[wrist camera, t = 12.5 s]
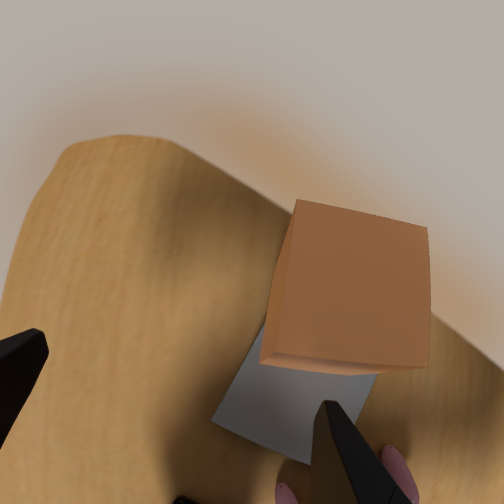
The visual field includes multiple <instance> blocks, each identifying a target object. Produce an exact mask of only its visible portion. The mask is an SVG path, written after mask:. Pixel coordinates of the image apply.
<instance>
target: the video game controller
mask: <svg viewBox="0 0 504 504" xmlns="http://www.w3.org/2000/svg"><path fill="white" fill-rule="evenodd" d="M381 460H382V464H383V465H384V466H385V468H386V469H387V470H388V472H389V473H390V475H391V476H392V477H393V479H394V480H395V481H396V483H397V484H396V485H399V487H400V488H401V489H402V491H403V492H404V493H405V495H406V496H407V497H408V498H409V500H410V501H411V502H412V503H413V504H419V493H418V489H417V486H416V484H415V482H414V479H413V477H412V475H411V472H410V470H409V468H408V466H407V464H406V463H405V461H404V459H403V457H402V455H401V454H400V452H399V451H398V450H397V449H396V448H395V447H393V446H391V445H386V446H384V448H383V450H382V455H381ZM275 501H276V504H299V503H298V501H297V499H296V497H295V495H294V493H293V492H292V491H291V489H290V488H289V487H288V486H287V485H286V484H285V483H283V482H279V483H278V484H277V485H276V488H275Z"/></svg>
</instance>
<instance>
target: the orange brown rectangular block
mask: <svg viewBox="0 0 504 504" xmlns="http://www.w3.org/2000/svg"><path fill="white" fill-rule="evenodd" d="M430 295H431V293H430V262H429V245H428V234H427V228H426V227H422V226H418V225H414V224H410V223H406V222H402V221H397V220H393V219H389V218H385V217H380V216H376V215H371V214H367V213H362V212H358V211H353V210H349V209H344V208H339V207H334V206H329V205H324V204H319V203H314V202H309V201H304V200H298V199H297V201H296V204H295V208H294V211H293V214H292V217H291V220H290V224H289V227H288V230H287V233H286V236H285V239H284V242H283V246H282V249H281V252H280V255H279V258H278V261H277V264H276V267H275V270H274V273H273V278H272V285H271V291H270V297H269V303H268V309H267V315H266V321H265V327H264V333H263V339H262V344H261V350H260V356H259V362H258V364H262V365H269V366H275V367H282V368H289V369H296V370H304V371H312V372H320V373H329V374H339V375H362V374H374V373H384V372H394V371H402V370H410V369H418V368H425V367H428V359H429V343H430V314H431V301H430V300H431V296H430Z"/></svg>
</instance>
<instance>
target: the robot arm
mask: <svg viewBox="0 0 504 504" xmlns="http://www.w3.org/2000/svg"><path fill="white" fill-rule="evenodd" d="M48 355H49V349H48V345H47V342H46V338H45V334H44V333H43V332H42V331H40V330H38V329H35V328H32V329H29V330H27V331H24V332H21V333H19V334H16V335H13V336H11V337H8V338H6V339H3V340H0V449H1V447H2V445H3V443H4V441H5V439H6V437H7V435H8V433H9V431H10V429H11V427H12V426H13V424H14V422H15V420H16V418H17V416H18V414H19V413H20V411H21V409H22V407H23V406H24V404H25V402H26V400H27V398H28V397H29V395H30V393H31V391H32V389H33V387H34V385H35V383H36V381H37V379H38V377H39V374H40V372H41V370H42V368H43V366H44V364H45V362H46V360H47V358H48ZM396 484H397V483H396V481H395V480H394V479H393V477H392V476H391V475H390V473H389V472H388V470H387V469H386V468H385V466H384V465H383V464H382V462H381V461H380V459H379V458H378V457H377V455H376V454H375V453H374V451H373V450H372V448H371V447H370V446H369V444H368V443H367V442H366V440H365V439H364V437H363V436H362V435H361V433H360V432H359V431H358V429H357V428H356V426H355V425H354V424H353V422H352V421H351V419H350V418H349V417H348V415H347V414H346V412H345V411H344V410H343V408H342V407H341V405H340V404H339V403H338V402H337V401H335V400H323V401H322V403H321V405H320V407H319V409H318V411H317V413H316V415H315V418H314V424H313V438H312V452H311V492H312V504H413V503H412V502H411V501H410V500H409V498H408V497H407V496H406V495H405V493H404V492H403V491H402V489H401V488H400V487H399V485H396ZM179 500H183V501H184V502H185V503H184V504H199V503H197V502H195V501H193V500H191V499H189V498H187V497H185V496H177V497H176V499H175V500H174V502H173V503H172V504H181V503H180V502H179Z"/></svg>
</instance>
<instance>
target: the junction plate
mask: <svg viewBox="0 0 504 504" xmlns="http://www.w3.org/2000/svg"><path fill="white" fill-rule="evenodd" d="M264 327H265V323H264V325H263V327H262V329H261V331H260V333H259V334H258V336H257V338H256V340H255V342H254V344H253V346H252V347H251V349H250V351H249V353H248V355H247V357H246V358H245V360H244V362H243V364H242V366H241V368H240V369H239V371H238V373H237V375H236V377H235V378H234V380H233V382H232V384H231V386H230V387H229V389H228V391H227V393H226V394H225V396H224V398H223V400H222V401H221V403H220V405H219V407H218V408H217V410H216V412H215V414H214V415H213V417H212V419H211V421H212V422H214V423H216V424H218V425H219V426H221V427H223V428H225V429H227V430H229V431H231V432H233V433H235V434H237V435H240V436H242V437H244V438H246V439H248V440H250V441H252V442H254V443H257V444H259V445H261V446H263V447H266V448H268V449H270V450H273V451H275V452H277V453H280V454H282V455H284V456H287V457H289V458H292V459H294V460H297V461H300V462H302V463H305V464H308V465H310V466H311V452H312V438H313V424H314V418H315V415H316V413H317V411H318V409H319V407H320V405H321V403H322V401H323V400H335V401H337V402H338V403H339V404H340V405H341V407H342V408H343V410H344V411H345V412H346V414H347V415H348V417H349V418H350V419H351V421H352V422H353V424H355V422H356V420H357V418H358V416H359V414H360V412H361V410H362V408H363V405H364V403H365V401H366V399H367V397H368V395H369V392H370V390H371V388H372V385H373V383H374V381H375V378H376V376H377V374H378V373H374V374H362V375H339V374H329V373H320V372H312V371H304V370H296V369H289V368H282V367H275V366H269V365H262V364H258V362H259V356H260V350H261V344H262V339H263V333H264Z"/></svg>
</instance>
